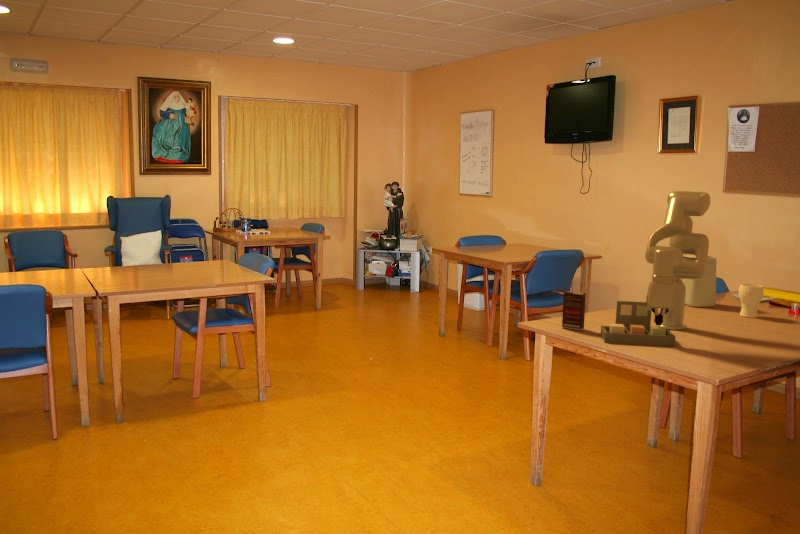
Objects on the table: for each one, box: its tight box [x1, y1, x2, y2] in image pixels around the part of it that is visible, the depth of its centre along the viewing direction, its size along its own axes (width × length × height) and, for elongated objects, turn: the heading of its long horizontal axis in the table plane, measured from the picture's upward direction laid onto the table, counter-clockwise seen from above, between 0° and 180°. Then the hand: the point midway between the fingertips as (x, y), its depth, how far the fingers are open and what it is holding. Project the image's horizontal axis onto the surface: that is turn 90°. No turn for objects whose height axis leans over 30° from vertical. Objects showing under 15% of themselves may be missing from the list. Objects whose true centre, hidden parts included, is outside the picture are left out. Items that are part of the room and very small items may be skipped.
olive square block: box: [650, 325, 666, 335], centre depth 282 cm, size 5×5×3 cm
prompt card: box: [614, 300, 652, 328], centre depth 292 cm, size 2×14×14 cm, turn 82°
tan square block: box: [609, 322, 625, 333], centre depth 284 cm, size 5×5×3 cm
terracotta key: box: [630, 325, 645, 334], centre depth 283 cm, size 5×5×3 cm
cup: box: [738, 283, 765, 319], centre depth 334 cm, size 11×11×15 cm
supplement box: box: [561, 290, 587, 332], centre depth 300 cm, size 9×5×16 cm, turn 59°
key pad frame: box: [600, 325, 676, 347], centre depth 283 cm, size 12×27×4 cm, turn 81°
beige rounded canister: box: [681, 254, 717, 308], centre depth 358 cm, size 15×15×28 cm
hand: (658, 324), depth 281 cm, fingers closed
